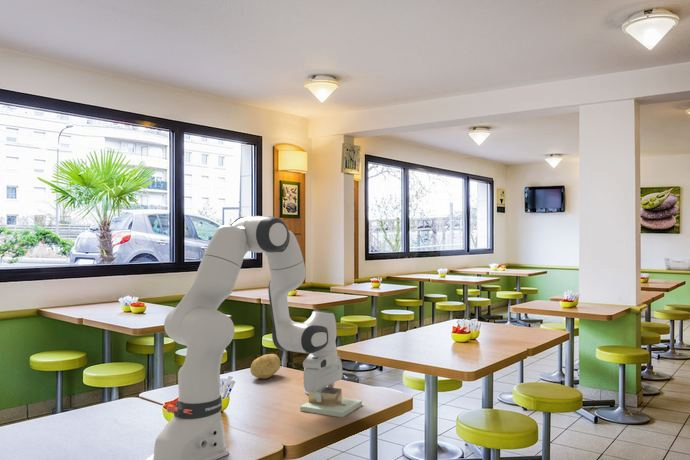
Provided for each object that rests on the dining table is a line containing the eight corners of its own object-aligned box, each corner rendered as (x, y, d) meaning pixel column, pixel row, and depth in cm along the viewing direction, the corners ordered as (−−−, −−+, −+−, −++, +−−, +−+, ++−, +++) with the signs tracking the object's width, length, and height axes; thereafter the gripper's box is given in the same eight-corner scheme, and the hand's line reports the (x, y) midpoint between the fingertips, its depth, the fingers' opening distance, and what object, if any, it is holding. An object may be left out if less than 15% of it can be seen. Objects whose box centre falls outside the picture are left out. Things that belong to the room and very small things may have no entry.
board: (342, 417, 177) (342, 412, 177) (300, 410, 185) (300, 406, 185) (362, 405, 190) (361, 400, 190) (321, 399, 197) (321, 394, 197)
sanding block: (334, 406, 184) (334, 392, 184) (308, 402, 188) (308, 389, 188) (341, 402, 188) (341, 388, 188) (316, 398, 193) (316, 385, 193)
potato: (286, 377, 229) (285, 354, 230) (254, 383, 221) (254, 359, 221) (274, 372, 238) (274, 350, 238) (243, 378, 229) (243, 355, 229)
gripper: (331, 351, 199) (331, 389, 199) (299, 363, 181) (300, 405, 181) (346, 352, 196) (347, 392, 196) (316, 365, 178) (317, 408, 178)
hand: (324, 398), depth 188 cm, fingers closed on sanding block, 5 cm apart
